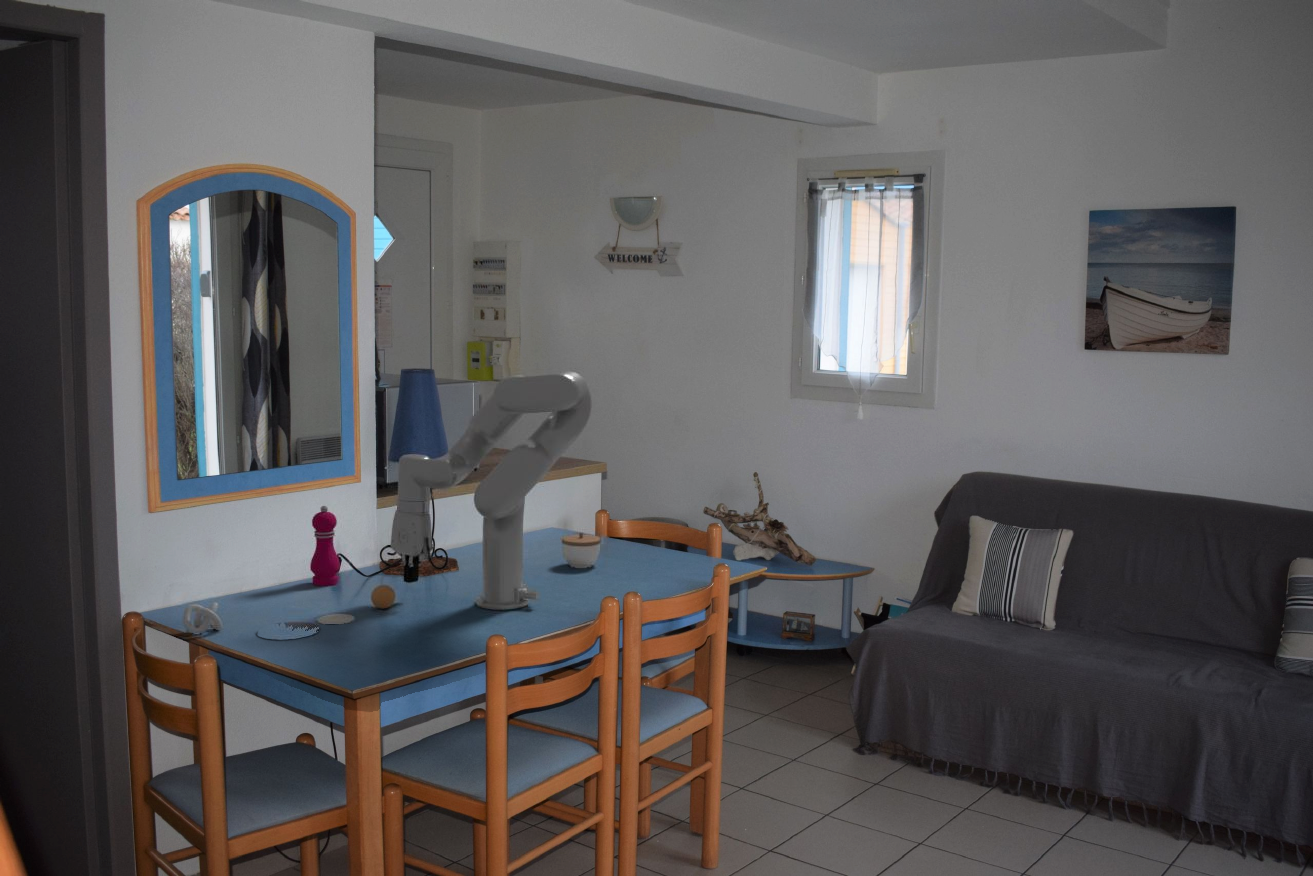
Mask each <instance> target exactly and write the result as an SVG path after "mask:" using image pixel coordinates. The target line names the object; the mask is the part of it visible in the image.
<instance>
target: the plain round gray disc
mask: <svg viewBox="0 0 1313 876" xmlns="http://www.w3.org/2000/svg"><path fill="white" fill-rule="evenodd" d="M317 621H318V622H319V624H320V623H322V624H321V625H325V624H339V625H344V623H345V624H348V622H349V623H351V622H350V621H352V622H353V621H355V616H354V615H351V614H348V613H334V614H333V613H331V614H326V615H323V616H320V617H318V618H317V620H316V622H317ZM318 622H317V623H318Z"/></svg>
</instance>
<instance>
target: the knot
mask: <svg viewBox="0 0 1313 876" xmlns="http://www.w3.org/2000/svg"><path fill="white" fill-rule="evenodd" d="M218 609H219V603H218V602H216V601H215V602H212V603H211V605H210V606H209V608H207V607H204V606H202V605H200V604H198V603H192V604H190V605H188V606H186V608H185V609H184V611H183V614H182V624H183V627H184V628H185V630H186V631H187V632H188V633H190V634H191V633H201V632H203V633H205V632H206V631H207V630H208V628H209V627H210V628H211V629H212V628H213V629H216V630H219V631H221V630H222V629H223V623H222V620H221V619H220V617H219V616H218V615H217V614H216V612H217V610H218ZM192 612H195V613H194V617H193V624H192V622H191V615H192ZM213 629H212V630H213Z"/></svg>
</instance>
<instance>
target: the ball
mask: <svg viewBox="0 0 1313 876" xmlns="http://www.w3.org/2000/svg"><path fill="white" fill-rule="evenodd" d="M370 595H371V596H370V600H371V602H372V604H373V606H375V607H376V608H377V609H388V608H390V607H391V606H392V605H393V604H394V602H395V600H396V593H395V589H394V588H392V587H391V586H389V585H387V584H380V585H378V586H376V587H375V588H374V589H373V590H372V592H371V594H370Z"/></svg>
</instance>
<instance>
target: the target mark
mask: <svg viewBox="0 0 1313 876" xmlns="http://www.w3.org/2000/svg"><path fill="white" fill-rule="evenodd" d="M281 623H282V622H278V623H277V624H279V626H280V624H281ZM283 623H284V624H285V625H286V628H287V627H288V626H289V627H290V626H291V625H292V627H293V629H292V631H293V630H294V629H295V628H296V629H297V628H298V627H299V628H300V627H301V629H302V628H303V627H304V628H305V627H306V626H307V627H308V629H306V630H307V631H308V630H309V629H310V630H311V629H312V628H313V629H314V628H315V627H316V628H317V627H318V626H319V625H318V624H315V623H312V622H307V621H306V622H305V621H289V622H288V621H287V622H286V621H285V622H283ZM306 630H305V631H306ZM319 630H320V631H321V627H320V626H319V629H317V630H316V632H317V631H319ZM320 631H319V632H320Z"/></svg>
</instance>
